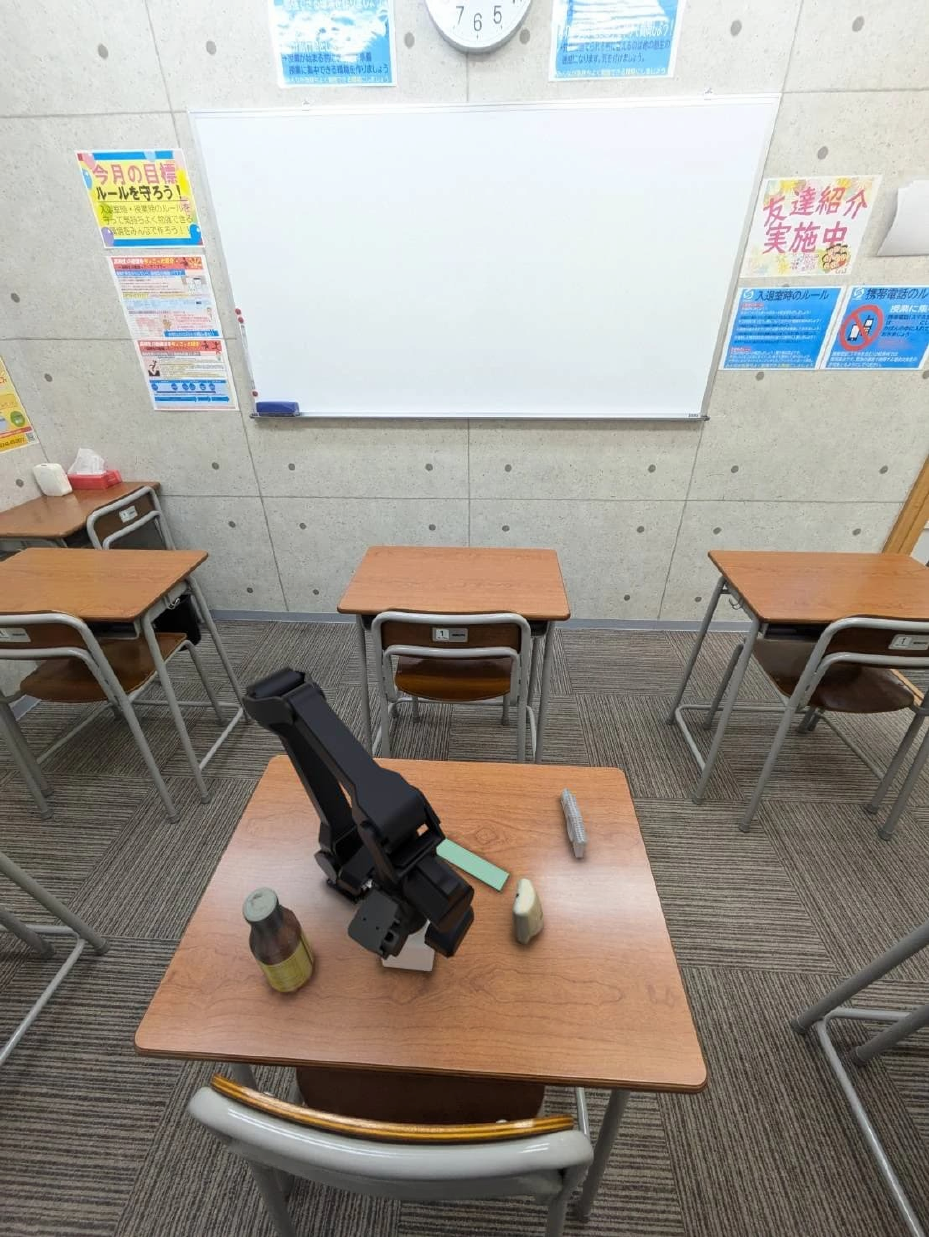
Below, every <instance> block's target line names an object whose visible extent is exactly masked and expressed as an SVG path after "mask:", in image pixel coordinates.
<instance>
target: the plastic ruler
mask: <svg viewBox="0 0 929 1237" xmlns="http://www.w3.org/2000/svg"><path fill="white" fill-rule="evenodd" d="M437 854H438V855H439V856H440V857H441V858H442V859H443V860H444V861H446V862H449V863H450V864H452V865H454V866H456V867H457V868H459V869H460V870H462V871H464V872H466V873H468V874H469V875H471V876H472V877H474V878H476V879H477V880H479V881H481V882H482V883H485V884H486V885H488V886H490V887H492V888H493V889H494V890H496V891H498V892H501V890H502V889H503V886H504V885H505V883H506V881H507V879H508V878H509V876H510V873H508V872H506V871H504V870H503V869H501V868H499V867H498V866H496V865H493V864H492V863H490V862H489V861H487V860H485V859H483V858H481V857H480V856H478V855H476V854H474V853H473V852H471V851H469V850H467V849H466V848H464V847H462V846H461V845H458V843H455V842H453V841H451V840H449V839H448V838H446V839H445V840H444V841H443V842H442V843H441V844H440V845H439V846H438V847H437Z"/></svg>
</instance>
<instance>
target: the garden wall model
mask: <svg viewBox="0 0 929 1237" xmlns="http://www.w3.org/2000/svg"><path fill="white" fill-rule="evenodd" d="M560 795H561V796H560V802H561V806H562V809H563V813H564V816H565V820H566V830H567V834H568V835H567V836H568V838H569V840H570V843H571V844H572V848H573V851H574V856H575V858H576V859H579V858H583V856H584V852H585V847H586V844H588V843H589V839H588V835H587V833H586V828H585V823H584V820H583V816H582V814H581V811H580V810H581V808H580V807H579V805H578V801H577V797H576V795H575V794H572V790H571V789H567V788H564V789H562V790H561V794H560Z"/></svg>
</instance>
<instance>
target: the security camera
mask: <svg viewBox="0 0 929 1237" xmlns="http://www.w3.org/2000/svg"><path fill="white" fill-rule="evenodd" d="M429 924H430V921H429V920H428V919H427V918H426V917H425V916H424V915H423V914H422V913H421V912H419V911H418V910H414V911H413V916H412V917H411V919H410V920H409V922H408V923H407V924H406V925H405V927H404V929H405V930H406V931H407V932H408V933H409V936H408V939H407V941H406V943H405V944H404V946H403V948H402V950H401V952H400V954H399V955H398V956H397V957H393V956H392V955H390V956H389V957H388V959H387V960H384V959H383V958H381V957H380V958H381V962H382V966H383V967H386V968H395V969H405V970H415V971H424V972H432V970H433V966H434V965H433V964H434V958H435V952H436V951H435V950H433V949H432V948H430V947H429V946H427V945H426V944H425V943H424V941H425V939H424V935H425V933H426V930H427V927H428V925H429Z"/></svg>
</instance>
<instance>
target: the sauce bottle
mask: <svg viewBox="0 0 929 1237" xmlns="http://www.w3.org/2000/svg"><path fill="white" fill-rule="evenodd" d="M241 911H242V914H243V918H244V920H245V922H246V923H247V924H248V925H249V926H250V932H249V937H248V946H249V950H250V952H251V954H252V956H253V957H254V959H255V961H256V962H257V965H258V966H259V968H260V969H261V970H262V973H263V975H264V976H265V978H266V980H267V982H268V983H269V985H270V986H271V987H272V988H273V989H274V990H276V991H277V992H279V993H281V994H284V995H289V994H290V995H291V994H293V993H296V992H299V991H300V990H302V989H303V988H305V986H306V985H307V984H308V982H309V981H310V979H311V977H312V975H313V972H314V969H315V960H314V954H313V951H312V948H311V946H310V944H309V941H308V939H307V937H306V935H305V932H304V930H303V928H302V925H301V923H300V920H298V918H297V916H296V914H295V912H294V911H293V910H291V909H289V907H285V906H283V905H282V904H281V903H280V900H279V897H278V894H277V893H276V891H275V890H273V888H270V887H264V886H263V887H260V888H257V889H255V890H253V891H252V892H251V893H250V894H249V895H248V896H247V897H246V898H245V900H244V902H243V904H242V910H241Z"/></svg>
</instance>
